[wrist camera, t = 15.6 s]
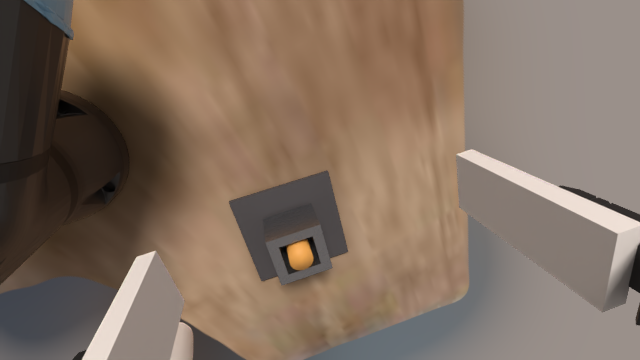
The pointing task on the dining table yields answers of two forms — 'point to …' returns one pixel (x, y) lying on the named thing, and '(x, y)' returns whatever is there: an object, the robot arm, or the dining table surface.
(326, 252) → the socket
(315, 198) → the mat
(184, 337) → the foam cup
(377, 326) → the dining table surface
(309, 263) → the post
